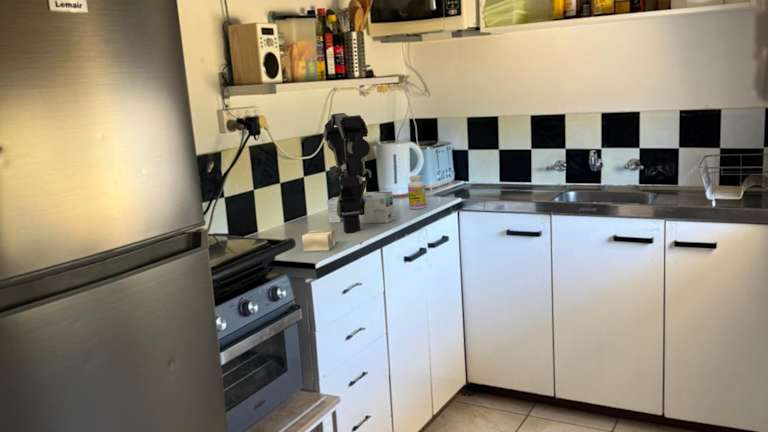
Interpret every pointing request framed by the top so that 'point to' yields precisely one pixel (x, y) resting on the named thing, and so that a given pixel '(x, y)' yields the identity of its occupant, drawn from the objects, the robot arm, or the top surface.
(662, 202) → the top surface
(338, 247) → the slate mat
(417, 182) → the supplement bottle
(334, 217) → the medicine box
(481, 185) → the top surface
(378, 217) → the light bulb box
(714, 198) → the top surface
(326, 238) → the tile block
